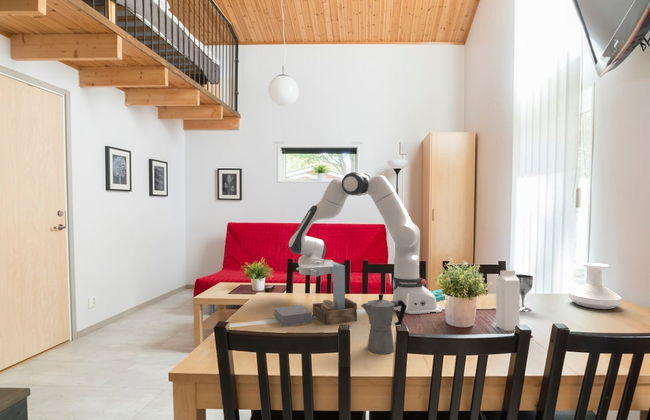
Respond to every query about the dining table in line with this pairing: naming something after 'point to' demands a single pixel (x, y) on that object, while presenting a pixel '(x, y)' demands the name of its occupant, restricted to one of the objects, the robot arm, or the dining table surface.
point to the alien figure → (438, 295)
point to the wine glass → (524, 288)
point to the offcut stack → (327, 305)
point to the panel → (339, 286)
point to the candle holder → (595, 290)
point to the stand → (293, 315)
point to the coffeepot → (382, 324)
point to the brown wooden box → (336, 313)
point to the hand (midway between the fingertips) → (326, 272)
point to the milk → (507, 300)
